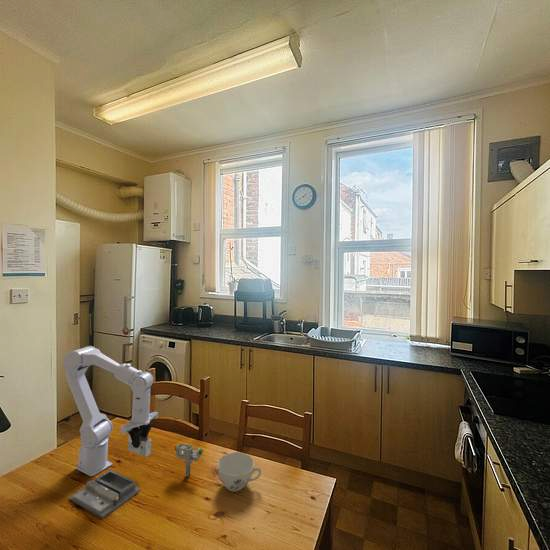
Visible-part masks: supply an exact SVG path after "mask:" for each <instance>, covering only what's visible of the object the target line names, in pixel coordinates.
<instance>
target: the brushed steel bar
mask: <svg viewBox="0 0 550 550" xmlns="http://www.w3.org/2000/svg"><path fill="white" fill-rule="evenodd" d="M127 441H128V444H127V450H128V451H129V452H132V453H135V454H138V455H140V456H142V457H145V458H146V457H148V456H149V455H151V454H152V439H151V438H149V437H147V438H146V437H143V436H141V435H140V440H139V447H138V448H134V447H133V444H132V440H131V437H130V435H128V440H127Z"/></svg>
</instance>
